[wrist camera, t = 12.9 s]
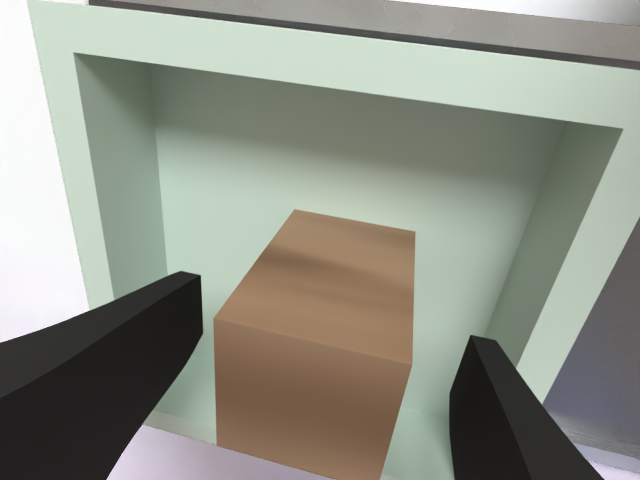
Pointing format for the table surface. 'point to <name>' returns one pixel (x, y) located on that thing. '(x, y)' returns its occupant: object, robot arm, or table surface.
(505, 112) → the pale green square tray
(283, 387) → the walnut block
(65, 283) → the table surface
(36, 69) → the table surface
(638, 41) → the track plate
